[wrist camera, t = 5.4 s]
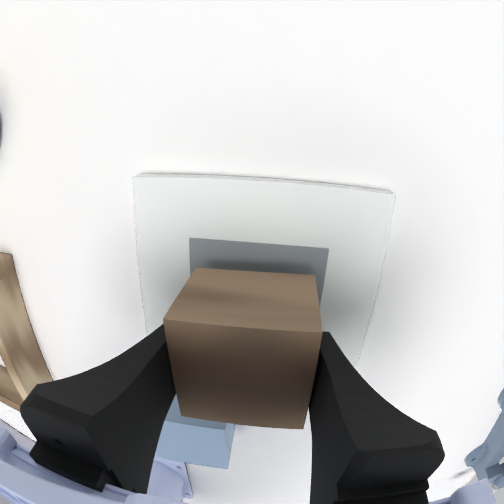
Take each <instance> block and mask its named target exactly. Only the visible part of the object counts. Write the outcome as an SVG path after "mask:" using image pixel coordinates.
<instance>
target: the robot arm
mask: <svg viewBox="0 0 504 504" xmlns="http://www.w3.org/2000/svg"><path fill="white" fill-rule="evenodd" d="M322 332H323V333H322V339H321V344H320V350H319V356H318V361H317V366H316V372H315V377H314V382H313V387H312V392H311V397H310V401H309V414H310V423H311V431H312V473H311V492H310V504H496V501H495V498H494V495H493V492H492V489H491V486H490V483H489V481H488V479H486V478H485V479H482V480H480V481H477V482H474V483H471V484H467V485H465V486H462V487H461V488H459V489H457V490H456V491H455V492H454V493H453V494H452V495H451V496H450V497H448V498H444V499H441V500H437V501H433V502H429V503H428V498H427V494H426V490H427V489H429V484H428V480H427V479H428V478H429V477H430V476H431V475H432V474H433V472H434V471H435V470H436V469H437V468H438V467H439V466H440V464H441V463H442V461H443V460H444V457H445V453H444V450H443V447H442V444H441V441H440V439H439V436H438V434H437V432H436V431H435V430H432V429H430V428H428V427H427V426H425V425H423V424H421V423H419V422H417V421H415V420H413V419H412V418H410V417H409V416H407V415H405V414H404V413H402V412H401V411H399V410H398V409H397V408H395V407H394V406H393V405H391V404H390V403H389V402H387V401H386V400H385V399H384V398H383V397H381V396H380V395H379V394H378V393H377V392H376V391H375V390H374V389H373V388H372V387H371V386H370V385H369V384H368V383H367V382H366V381H365V380H364V379H363V378H362V377H361V375H360V374H359V373H358V372H357V371H356V369H355V368H354V367H353V366H352V364H351V363H350V362H349V360H348V359H347V357H346V356H345V355H344V353H343V352H342V350H341V349H340V347H339V346H338V344H337V343H336V341H335V340H334V338H333V337H332V335H331V334H330V332H326V331H322ZM175 395H176V390H175V385H174V380H173V375H172V370H171V364H170V359H169V353H168V348H167V342H166V336H165V329H164V323H163V324H162V325H161V326H160V327H158V328H157V329H156V330H154V331H153V332H152V333H151V334H149V335H148V336H147V337H145V338H144V339H143V340H141V341H140V342H139V343H137V344H136V345H134V346H133V347H131V348H130V349H128V350H127V351H125V352H124V353H122V354H120V355H119V356H117V357H115V358H113V359H112V360H110V361H108V362H106V363H104V364H102V365H100V366H97V367H95V368H93V369H90V370H88V371H85V372H83V373H80V374H77V375H74V376H71V377H67V378H64V379H60V380H56V381H51V382H46V383H41V384H37V385H36V386H35V387H34V388H33V390H32V391H31V392H30V393H29V395H28V396H27V397H26V399H25V400H24V401H23V403H22V404H21V405H20V413H21V416H22V418H23V420H24V422H25V423H26V425H27V426H28V428H29V429H30V431H31V432H32V434H33V435H34V436H35V438H36V439H37V442H36V443H35V445H34V446H33V448H32V450H30V449H28V448H26V447H24V446H23V445H21V444H19V443H17V441H16V439H15V438H14V436H13V435H12V434H11V433H10V432H9V431H8V430H7V429H6V428H4V427H3V426H1V425H0V494H1V495H2V496H3V497H5V498H6V499H8V500H9V501H11V502H12V503H14V504H188V503H183V498H189V499H191V498H193V493H192V490H191V486H190V482H189V479H188V475H187V471H186V467H185V463H184V462H180V461H174V460H170V459H165V458H160V457H157V455H155V453H156V449H157V445H158V441H159V438H160V434H161V431H162V427H163V424H164V421H165V418H166V416H167V413H168V411H169V409H170V406H171V404H172V402H173V399H174V397H175Z"/></svg>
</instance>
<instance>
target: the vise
mask: <svg viewBox="0 0 504 504" xmlns="http://www.w3.org/2000/svg"><path fill="white" fill-rule="evenodd" d="M498 404H499V405H500V407H501V409H503V410H502V412H501V414H500V416H499V417H498V419H497V421H496V423H495V425H494V426H493V428H492V430H491V432H490V433H489V435H488V437H487V439H486V440H485V442H484V443H483V444H482V445H480V446H479V447H477V448H476V449H474V450H473V451H472V452H470V453H469V454H468V455H467V457H466V458H465V463H466V466H468V467H469V466H471V467H473V468H474V469H475V472H476V475H477V477H478V480H479V481H480V480H482V479H485V478H486V479H488V481H489V483H490V486H491V489H492V492H493V494H495V493H496V492H497V491H498V490H499V489H500V488H502V487H504V463H503V464H501V465H499V461H500V460H501V458H502V457H503V456H504V389H503V390H502V392H501V393H500V395H499V398H498Z"/></svg>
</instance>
